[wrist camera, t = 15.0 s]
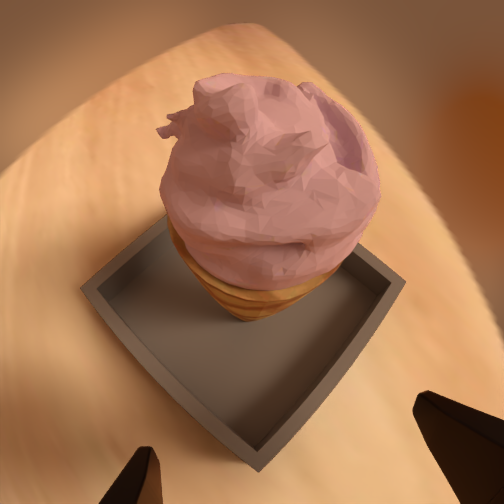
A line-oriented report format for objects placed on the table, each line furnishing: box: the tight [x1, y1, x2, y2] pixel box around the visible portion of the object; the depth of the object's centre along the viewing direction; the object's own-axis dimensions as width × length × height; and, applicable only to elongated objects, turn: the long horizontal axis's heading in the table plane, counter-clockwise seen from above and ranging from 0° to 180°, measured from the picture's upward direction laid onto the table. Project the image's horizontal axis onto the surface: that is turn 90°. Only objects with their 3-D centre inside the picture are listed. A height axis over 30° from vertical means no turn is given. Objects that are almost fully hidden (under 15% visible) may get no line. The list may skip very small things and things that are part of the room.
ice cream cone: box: [156, 73, 381, 322], centre depth 12 cm, size 7×6×15 cm
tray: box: [80, 215, 406, 473], centre depth 18 cm, size 14×14×2 cm
